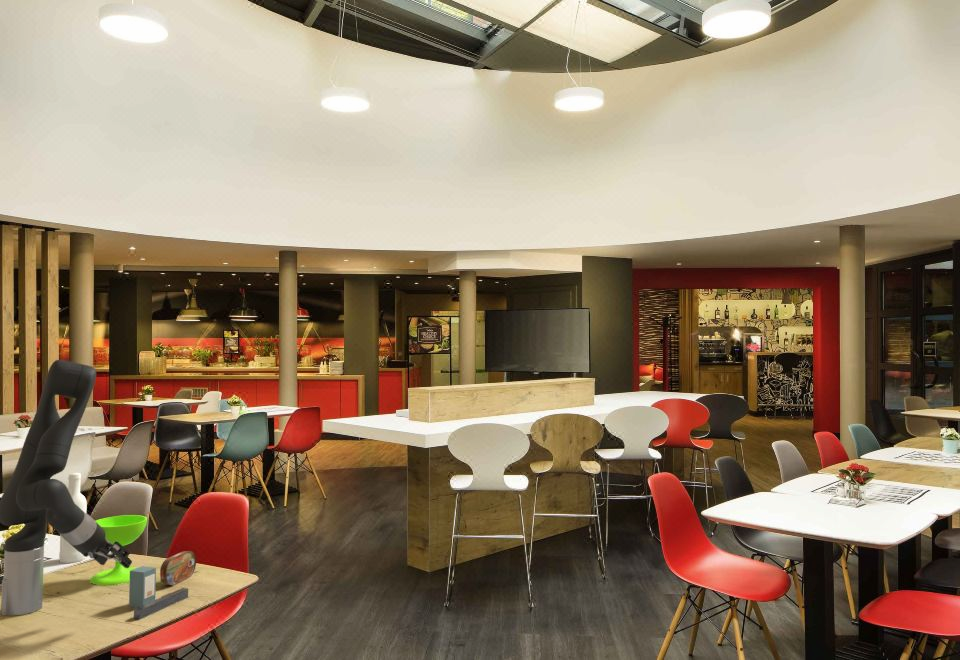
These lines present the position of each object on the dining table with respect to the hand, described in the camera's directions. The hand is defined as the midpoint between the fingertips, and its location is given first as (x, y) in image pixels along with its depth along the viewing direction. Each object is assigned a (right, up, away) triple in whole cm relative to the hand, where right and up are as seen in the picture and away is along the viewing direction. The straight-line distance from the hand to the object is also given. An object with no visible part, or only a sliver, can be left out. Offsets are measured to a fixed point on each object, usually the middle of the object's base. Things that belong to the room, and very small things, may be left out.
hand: (117, 563), depth 185 cm
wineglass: (-17, -16, +32) cm, 39 cm away
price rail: (+10, -14, +6) cm, 18 cm away
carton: (+3, -15, +8) cm, 17 cm away
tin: (+4, -16, +29) cm, 33 cm away
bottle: (-43, -16, +50) cm, 68 cm away
